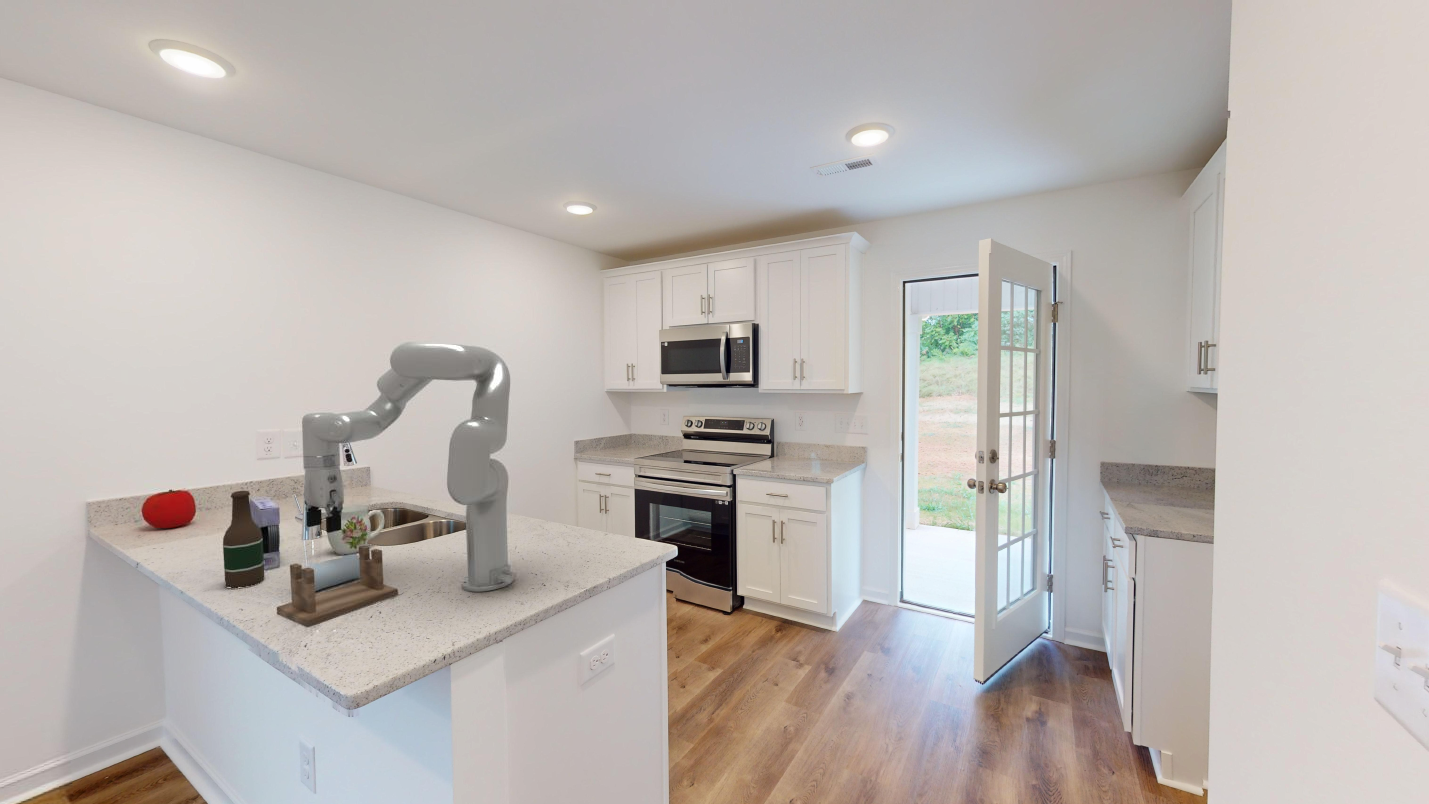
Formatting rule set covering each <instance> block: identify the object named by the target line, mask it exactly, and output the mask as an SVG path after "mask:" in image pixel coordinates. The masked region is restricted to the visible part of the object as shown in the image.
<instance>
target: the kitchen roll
mask: <svg viewBox="0 0 1429 804" xmlns="http://www.w3.org/2000/svg"><path fill="white" fill-rule="evenodd" d="M308 567H309V568H312V569H314V581H315V592H317V591H321V590H323V589H327V588H330V587H333V586H336V585H339V584H344V583H346V582H348V581H349V582H350V581H353V580H356V579H360V564H359V555H357V554H356V553H353V554H347V555H343V556H341V557H337V558H334V559H330V560H327V561H322V562H318V563H315V564H311V565H308V566H304V567H303V566H302V569H304V568H308Z"/></svg>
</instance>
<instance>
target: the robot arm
mask: <svg viewBox="0 0 1429 804" xmlns="http://www.w3.org/2000/svg"><path fill="white" fill-rule="evenodd" d="M389 364H390V368H389V369H388V370H387V371H386V372H385V373H383V374H382V375H380V377H379V378H378V380H377V382H376V387H377V389H378V391H379V392H380V395H379V396H378V397H377V398H376V400H375V401H374V402H372V403H371V404H370V405H368V406H367V407H366V408H365V409H364V410H359V411H350V412H341V413H340V412H339V413H334V412H312V413H306V414H305V415H303V417H302V420H301V430H302V431H301V432H302V433H301V434H302V457H303V458H302V460H303V461H302V463H303V470H305V474H304V492H303V497H304V504H305V513H306V515H305V516H306V527H307V528H312V527H316V526H321V525H322V524H323V523H322V522H323V520H322V516H323V515H322V514H321V511H322V509H324V510H325V511H326V513H327V515H328V517H325V531H326V533H330V532H335V531H339V530H341V514H342V509H343V507H342V506H344V505H343V504H345V503H344V502H345V494H344V483H343V482H344V481H343V475H342V471H341V452H340V444H348V443H349V444H350V443H351V444H352V443H355V442H360V441H366V440H370V439H373V438H375V437H378V436H379V435H380V434H382V433H383V432H385V430H387V429H388V428H389V427H390V426H392V424H394V423H395V422H396V421H397V420H398V419H399V418H400V416H401V415H402V414H403V412H404V409H405V408H406V405H407V403H408V402H409V401H411V400H412V399H413V398H414V397H415V396H416V395H418V393H420V392H421V391H422V390H423V389H425V387H426V386H428V385H429V384H430V383H432V381H434V380H438V381H453V382H454V381H457V382H459V381H462V382H463V381H474V382H475V383H476V384H475V385H476V386H475V390H474V391H473V395H472V400H471V401H472V402H471V414H470V419H466V420H464V421H462V422H461V423H459V424H458V425H456V427H455V428H454V429H453V431H452V434H451V436H450V438H449V439H450V440H449V446H448V460H447V461H448V462H447V473H446V486H447V487H446V488H447V491H448V495H449V496H450V498H451V499H452V500H453V501H454V502H456V503H458V505H462V506H465V507H466V508H465V509H466V510H465V533H466V559H467V560H466V561H467V576H466V577H464V578H463V579H462V580H461V584H460V585H461V586H460V587H461V588H462V590H465V591H467V592H475V593H476V592H477V593H478V592H488V591H489V592H491V591H494V590H499V589H501V588H504V587H505V588H506V587H507V586H509V585H511V584H512V583H513V582H514V581H515V579H516V576H517V572H514V571H511V564H509V552H508V551H509V550H508V522H507V521H508V515H507V512H508V511H507V505H508V504H507V503H508V502H507V501H508V499H507V498H508V490H509V475H508V470H507V468H506V467H505V465H504V464H503V463H502V462H501V461H499V460H497V459H495V458H491V455H493V454H495V453H497V452H500V451H501V450H502V449H503V448H504V446H505V445H506V442H507V438H508V422H509V410H510V409H509V404H510V403H509V402H510V391H511V375H510V371H509V367H508V365H507V363H506V362H505V361H504V359H502V357H500V356H499V355H498V354H497V353H495V352H494V351H492V350H490V349H487V348H484V347H481V346H474V345H462V344H450V343H449V344H448V343H422V342H412V341H411V342H410V341H408V342H404V343H402V344H399V345H397V346H396V347H395V348H394V349H393V351H392V352H391V354H390V357H389ZM330 508H332V510H330Z"/></svg>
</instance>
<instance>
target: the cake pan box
mask: <svg viewBox="0 0 1429 804" xmlns="http://www.w3.org/2000/svg"><path fill="white" fill-rule="evenodd" d="M249 502H250V509H251V516H252V519H253V521H254V522H255V523H256V524H257V525H258V526H259V528H260V530H261V531H262V537H263V554H264V570H265V571H269V570H268V569H270V570H274V569H273V568H276V569H280V568H281V552H280V538H281V536H280V535H281V534H280V524H281V523H280V522H281V521H280V520H281V519H280V517H281V516H280V506H278V505H277V504H276V503H275V501H273V500H272V499H271V498H270V497H269V496H263V497H262V496H261V497H254V498H249ZM279 567H280V568H279Z"/></svg>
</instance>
